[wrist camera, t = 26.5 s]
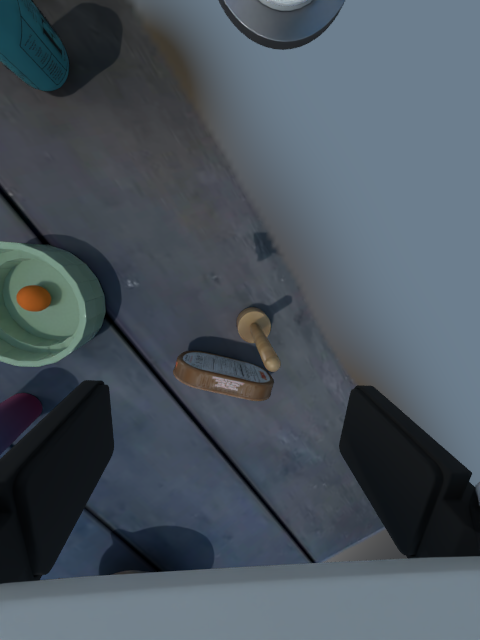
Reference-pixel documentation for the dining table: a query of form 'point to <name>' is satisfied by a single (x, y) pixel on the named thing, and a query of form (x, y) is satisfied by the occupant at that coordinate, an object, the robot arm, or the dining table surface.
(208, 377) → the tin
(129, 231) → the dining table surface
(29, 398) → the cup
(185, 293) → the dining table surface
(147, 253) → the dining table surface
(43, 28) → the beverage bottle
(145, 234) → the dining table surface
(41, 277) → the bowl
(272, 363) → the wooden pestle
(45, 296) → the ball
